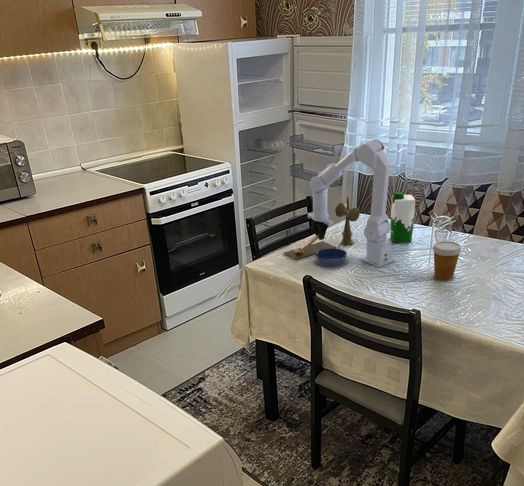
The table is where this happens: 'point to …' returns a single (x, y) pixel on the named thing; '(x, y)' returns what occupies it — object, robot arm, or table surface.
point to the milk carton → (402, 217)
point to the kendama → (347, 220)
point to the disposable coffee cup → (445, 259)
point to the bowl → (331, 257)
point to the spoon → (306, 245)
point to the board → (309, 250)
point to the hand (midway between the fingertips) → (320, 238)
